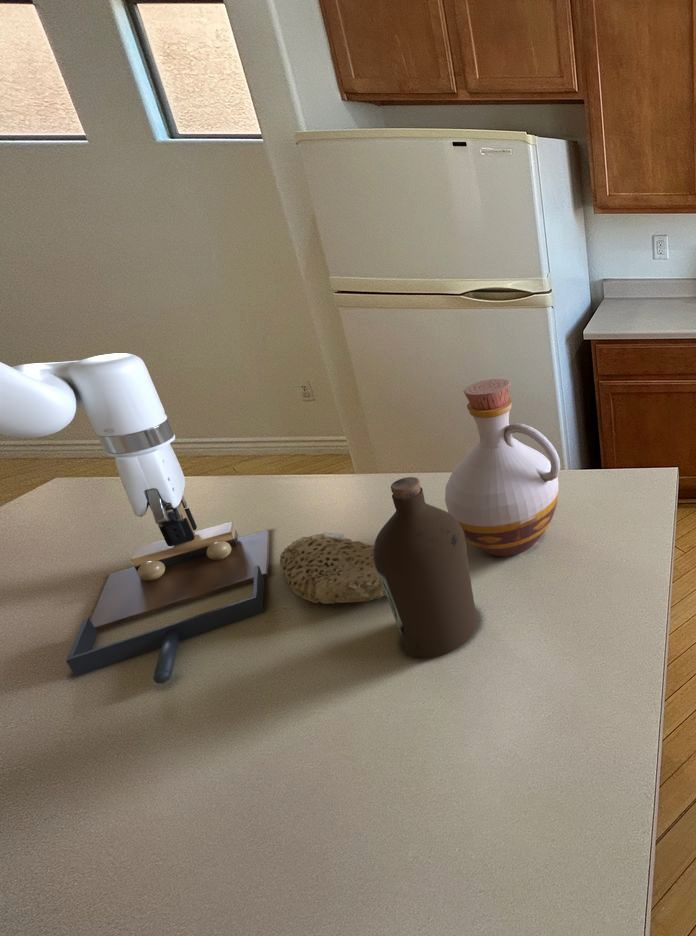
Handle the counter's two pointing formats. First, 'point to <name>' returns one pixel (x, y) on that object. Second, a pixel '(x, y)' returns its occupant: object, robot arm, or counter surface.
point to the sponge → (331, 569)
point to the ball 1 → (151, 570)
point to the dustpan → (160, 636)
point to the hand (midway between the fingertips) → (182, 536)
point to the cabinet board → (180, 582)
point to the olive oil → (425, 573)
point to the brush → (185, 545)
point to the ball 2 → (218, 550)
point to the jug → (502, 478)
